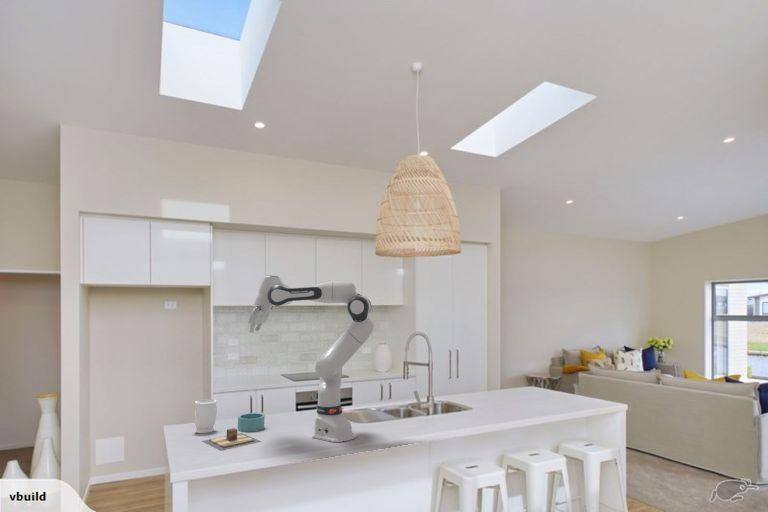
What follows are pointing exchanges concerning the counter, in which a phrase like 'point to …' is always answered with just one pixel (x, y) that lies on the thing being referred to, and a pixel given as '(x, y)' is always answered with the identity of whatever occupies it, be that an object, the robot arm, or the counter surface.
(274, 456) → the counter surface
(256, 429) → the bowl
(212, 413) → the jar
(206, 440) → the mat
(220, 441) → the lid
